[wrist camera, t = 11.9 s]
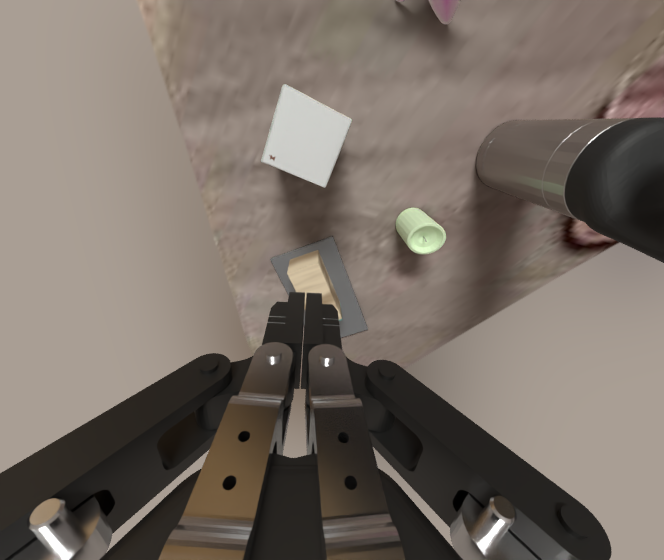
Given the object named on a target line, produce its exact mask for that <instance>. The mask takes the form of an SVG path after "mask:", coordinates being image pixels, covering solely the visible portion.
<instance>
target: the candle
mask: <svg viewBox="0 0 664 560" xmlns="http://www.w3.org/2000/svg"><path fill="white" fill-rule="evenodd" d="M396 230H397V232H398V234H399V235H400V236H401V238H402V239H403V240H404V242H405V243H406V244H407V246H408V247H409V248H410V250H412V251H413V252H415V253H417V254H430V253H433V252H435V251H437V250H438V249H439V248H441V247H442V245H443V244H444V242H445V240H446V234H445V231H444V229H443V228H442V227H441V226H440V225H438V224H437V223H436V222H435V221H434V220H432V219H431V218H430V217H429V216H428V215H426V214H425V213H424V212H423V211H421V210H420V209H417V208H409V209H406V210H404V211H403V212H402V213H400V215H399V216H398V218H397V220H396Z"/></svg>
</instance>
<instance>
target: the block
mask: <svg viewBox="0 0 664 560" xmlns="http://www.w3.org/2000/svg"><path fill="white" fill-rule="evenodd" d="M287 274H288V276H289V278H290V280H291V282H292V284H293V286H294V288H295V290H296V292H305V306H304V309H305V310H306V294H307V293H322V304H333V306H334V307H335V308H336V309H337V311H338V317H339V321H341V320H343V319H342V312H341V304H340V301H339V299H338V296H337V294H336V292H335V289H334V287H333V284H332V282H331V280H330V277H329V275H328V272H327V270H326V268H325V265H324V263H323V260H322V258H321V256H320V253H319V251H318V250H316V251H313V252H310V253H307V254H304V255H302V256H299V257H296V258H293V259H290V261H289V266H288V271H287Z"/></svg>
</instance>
